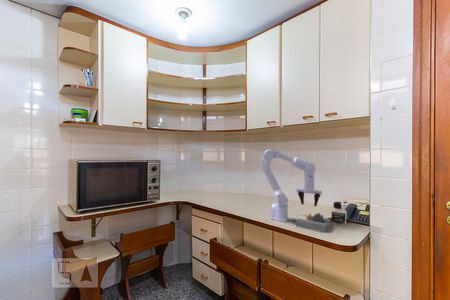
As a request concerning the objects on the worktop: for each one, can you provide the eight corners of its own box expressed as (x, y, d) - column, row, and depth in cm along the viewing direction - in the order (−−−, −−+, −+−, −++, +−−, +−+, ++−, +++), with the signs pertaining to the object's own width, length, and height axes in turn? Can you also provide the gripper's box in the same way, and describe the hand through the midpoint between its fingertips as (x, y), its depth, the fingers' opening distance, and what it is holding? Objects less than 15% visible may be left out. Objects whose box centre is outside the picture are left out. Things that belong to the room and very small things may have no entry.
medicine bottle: (331, 223, 129) (331, 202, 129) (333, 220, 135) (333, 200, 135) (345, 225, 125) (345, 204, 126) (346, 222, 131) (346, 202, 131)
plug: (313, 226, 122) (313, 213, 122) (315, 225, 125) (315, 211, 125) (321, 228, 120) (321, 214, 120) (323, 226, 123) (323, 213, 123)
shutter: (294, 218, 127) (294, 213, 127) (298, 215, 133) (298, 211, 133) (307, 221, 122) (307, 216, 122) (311, 218, 128) (311, 213, 128)
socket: (296, 226, 124) (296, 218, 124) (303, 220, 133) (303, 214, 133) (325, 232, 115) (325, 224, 115) (330, 226, 124) (330, 219, 124)
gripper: (323, 183, 132) (323, 205, 132) (299, 181, 141) (299, 202, 141) (320, 184, 127) (320, 208, 126) (295, 182, 135) (295, 204, 135)
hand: (308, 205), depth 133 cm, fingers open, 7 cm apart
